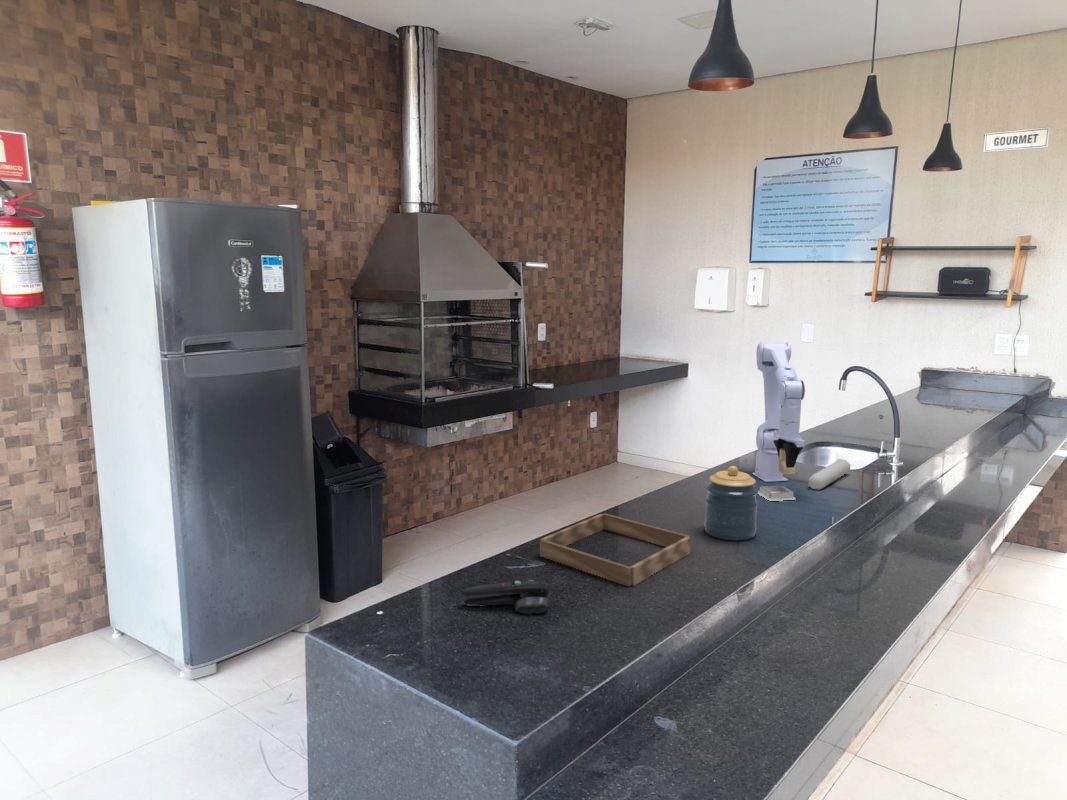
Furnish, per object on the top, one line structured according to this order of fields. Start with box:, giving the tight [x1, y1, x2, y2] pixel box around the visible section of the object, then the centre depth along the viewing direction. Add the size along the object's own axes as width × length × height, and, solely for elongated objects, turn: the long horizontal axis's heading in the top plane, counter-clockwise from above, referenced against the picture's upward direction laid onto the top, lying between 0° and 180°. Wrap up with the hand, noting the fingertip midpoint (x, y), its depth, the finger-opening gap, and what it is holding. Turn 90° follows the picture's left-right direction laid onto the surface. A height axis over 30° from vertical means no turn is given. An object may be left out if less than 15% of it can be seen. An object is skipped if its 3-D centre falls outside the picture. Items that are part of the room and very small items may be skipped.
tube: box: [807, 458, 851, 491], centre depth 234 cm, size 5×5×25 cm
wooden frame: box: [539, 513, 692, 587], centre depth 174 cm, size 26×26×4 cm
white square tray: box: [759, 485, 794, 499], centre depth 218 cm, size 8×8×2 cm
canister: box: [703, 465, 760, 542], centre depth 187 cm, size 13×13×18 cm
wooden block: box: [779, 448, 797, 475], centre depth 219 cm, size 4×4×7 cm
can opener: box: [461, 579, 551, 614], centre depth 147 cm, size 18×7×6 cm, turn 85°
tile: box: [756, 490, 796, 502], centre depth 218 cm, size 8×8×1 cm
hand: (786, 465), depth 219 cm, fingers closed on wooden block, 3 cm apart
